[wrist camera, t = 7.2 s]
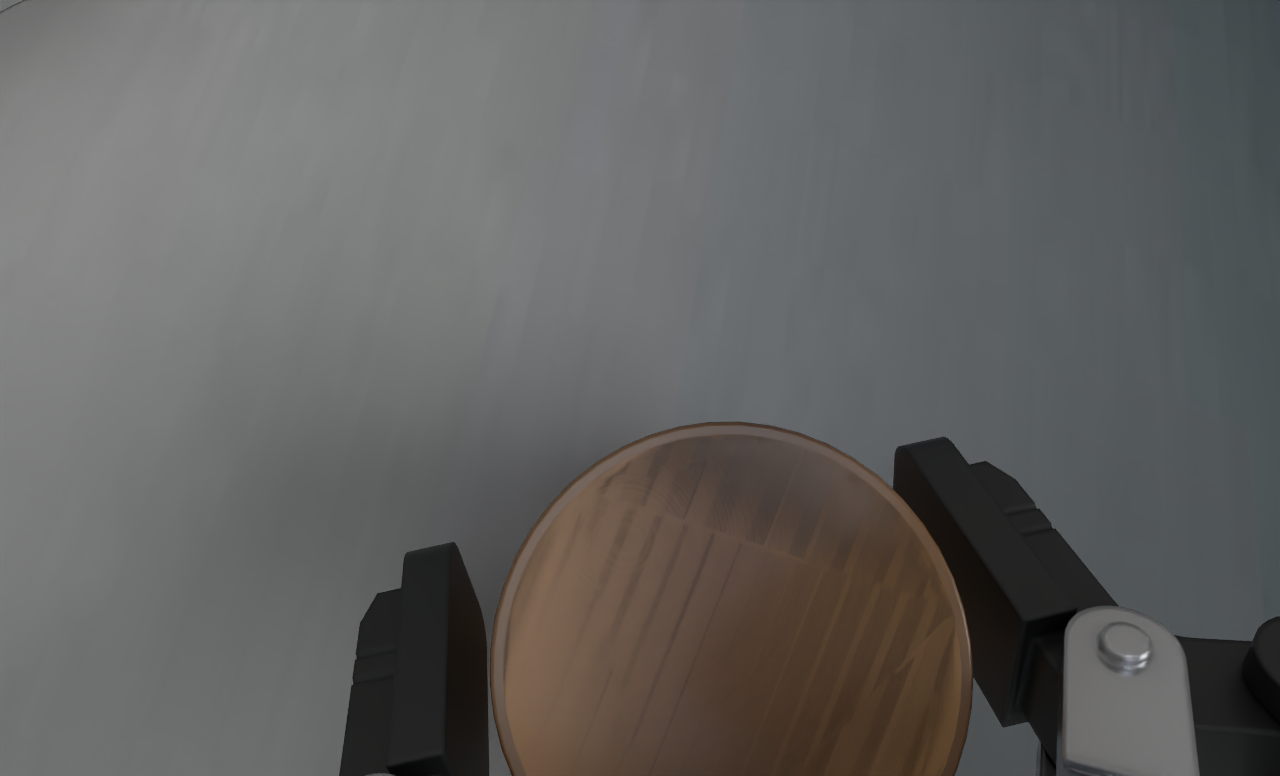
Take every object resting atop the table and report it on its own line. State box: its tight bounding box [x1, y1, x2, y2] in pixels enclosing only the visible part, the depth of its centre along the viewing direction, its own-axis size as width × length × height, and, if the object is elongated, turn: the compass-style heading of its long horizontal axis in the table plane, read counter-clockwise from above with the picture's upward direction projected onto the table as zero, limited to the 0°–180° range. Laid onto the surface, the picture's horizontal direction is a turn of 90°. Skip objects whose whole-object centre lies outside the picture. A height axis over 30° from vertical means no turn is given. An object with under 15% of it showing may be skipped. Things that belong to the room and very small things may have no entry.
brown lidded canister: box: [490, 422, 973, 776], centre depth 14 cm, size 6×6×8 cm
